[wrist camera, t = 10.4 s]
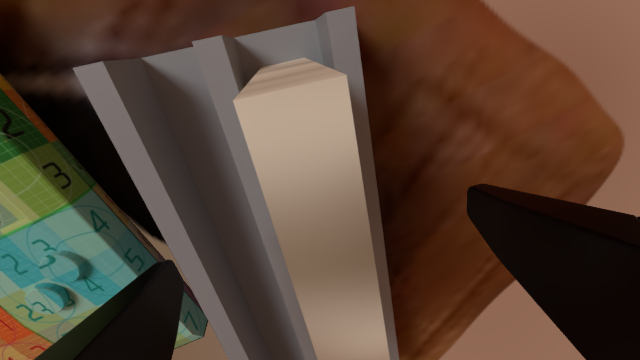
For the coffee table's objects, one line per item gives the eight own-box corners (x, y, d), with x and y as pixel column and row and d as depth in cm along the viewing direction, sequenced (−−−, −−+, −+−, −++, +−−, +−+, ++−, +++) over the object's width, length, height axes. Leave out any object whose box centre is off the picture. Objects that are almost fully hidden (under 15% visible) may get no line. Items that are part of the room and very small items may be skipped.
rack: (387, 338, 24) (409, 397, 20) (270, 368, 24) (269, 434, 20) (340, 16, 14) (365, 3, 10) (133, 61, 14) (72, 67, 10)
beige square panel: (338, 220, 17) (392, 379, 9) (305, 228, 17) (329, 396, 9) (304, 57, 13) (346, 75, 5) (261, 67, 13) (232, 100, 5)
